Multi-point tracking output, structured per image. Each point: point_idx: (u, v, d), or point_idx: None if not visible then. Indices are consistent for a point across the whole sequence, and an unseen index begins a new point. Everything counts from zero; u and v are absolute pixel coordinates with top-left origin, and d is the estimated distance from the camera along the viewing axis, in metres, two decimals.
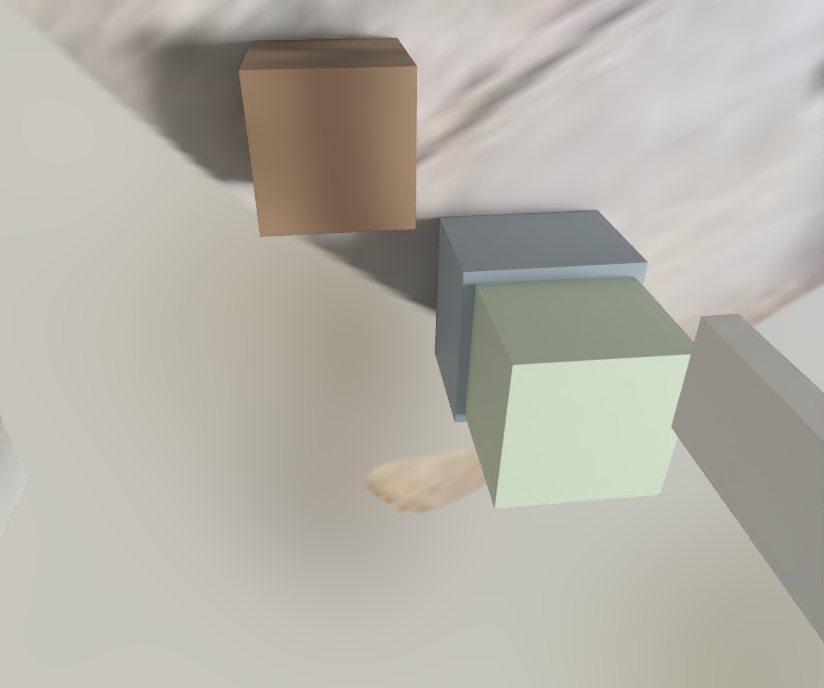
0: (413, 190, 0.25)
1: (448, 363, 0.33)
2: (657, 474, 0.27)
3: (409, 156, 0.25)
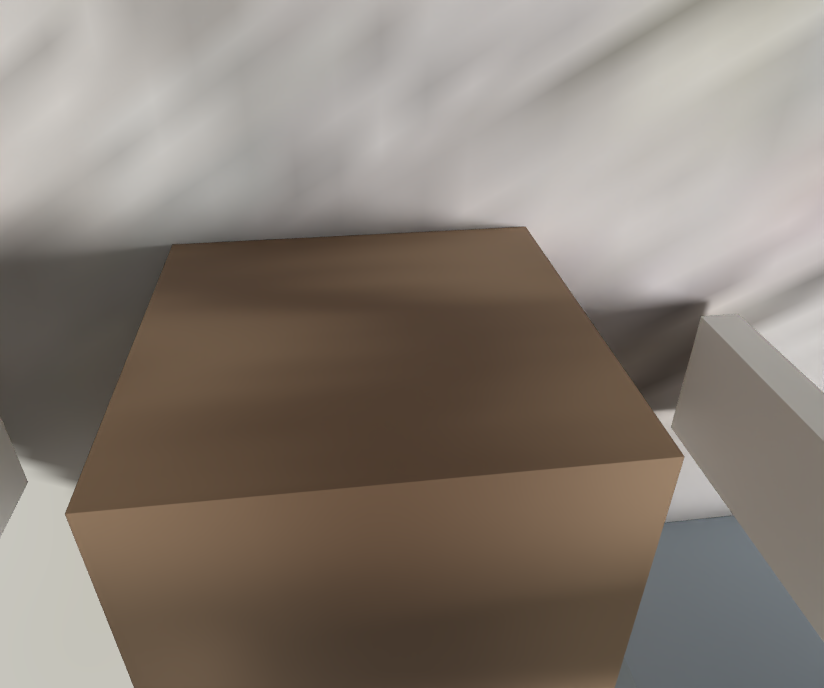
0: None
1: None
2: None
3: (610, 642, 0.08)
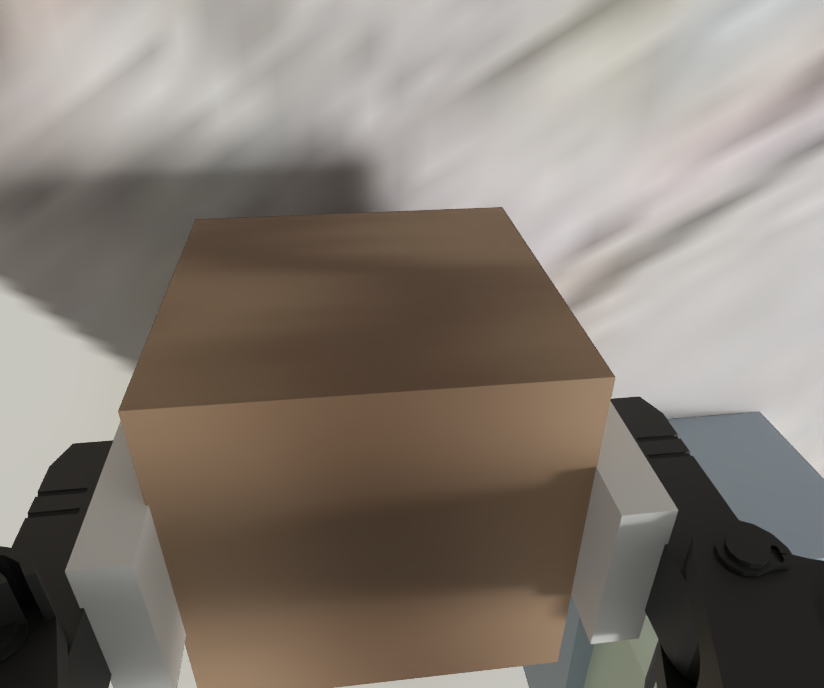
0: (563, 603, 0.11)
1: None
2: None
3: (564, 549, 0.10)
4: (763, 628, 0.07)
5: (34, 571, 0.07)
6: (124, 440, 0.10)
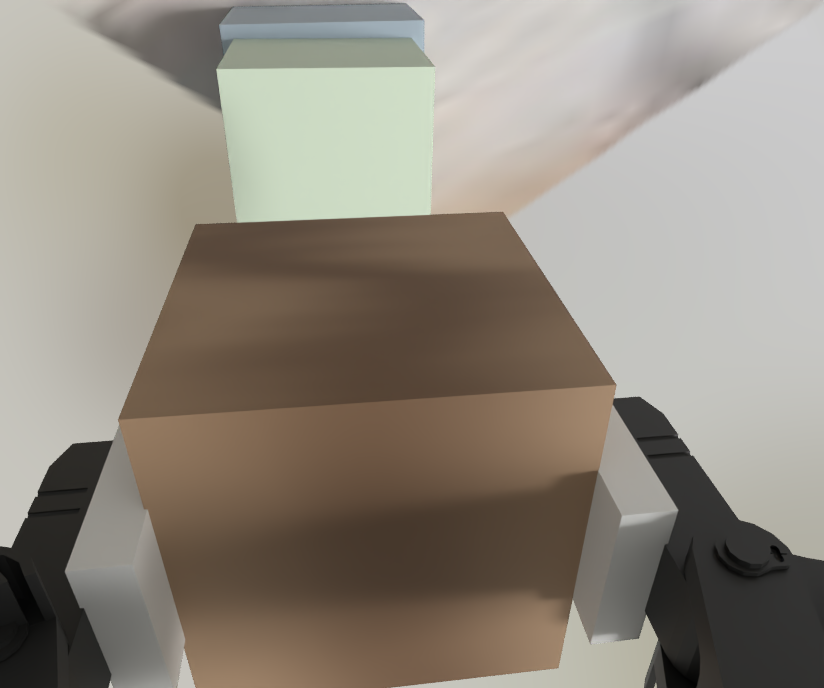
0: (564, 610, 0.11)
1: None
2: None
3: (565, 556, 0.10)
4: (763, 628, 0.07)
5: (34, 571, 0.07)
6: None
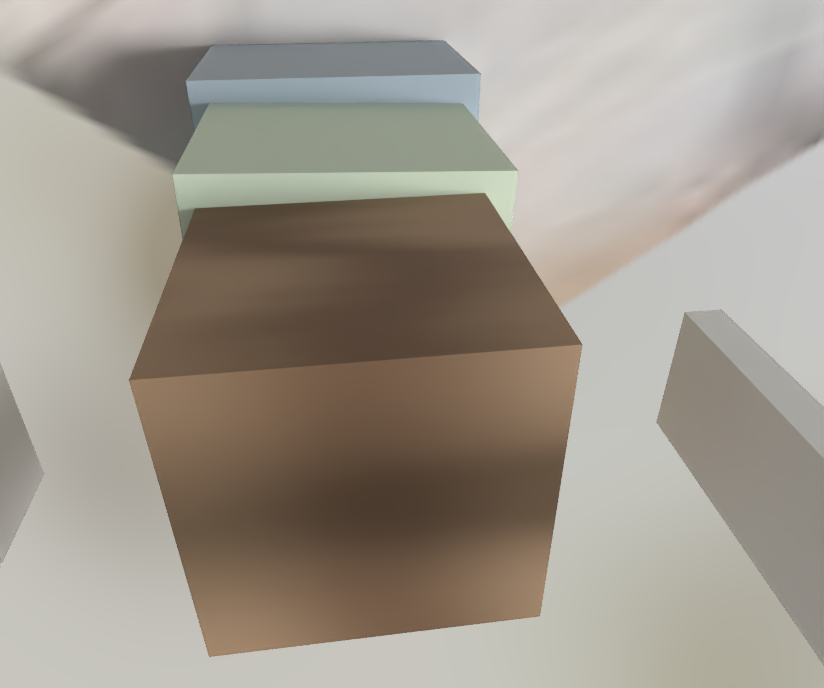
0: (543, 559, 0.12)
1: None
2: None
3: (542, 507, 0.11)
4: None
5: None
6: None
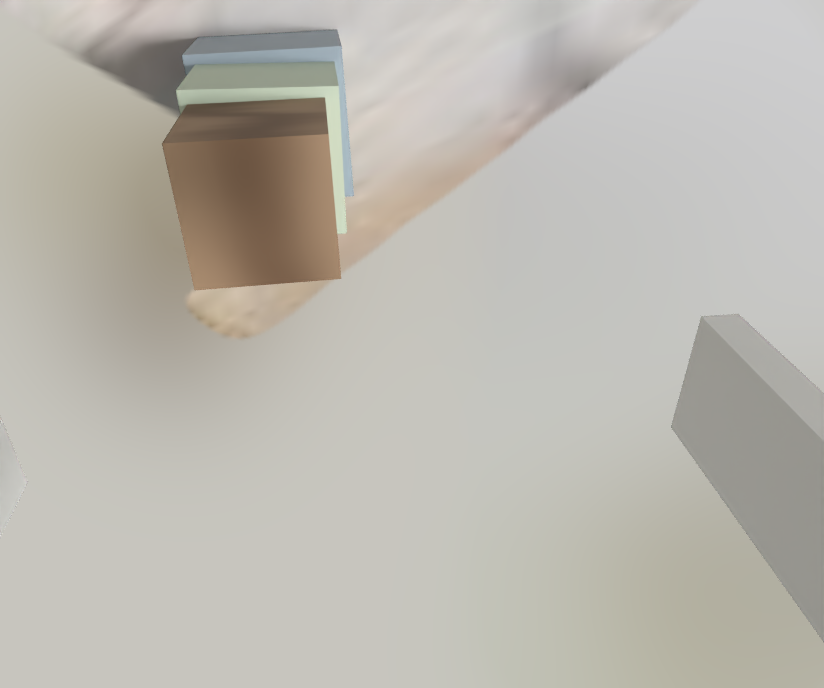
0: (335, 244, 0.27)
1: None
2: (337, 211, 0.33)
3: (329, 214, 0.26)
4: None
5: None
6: None
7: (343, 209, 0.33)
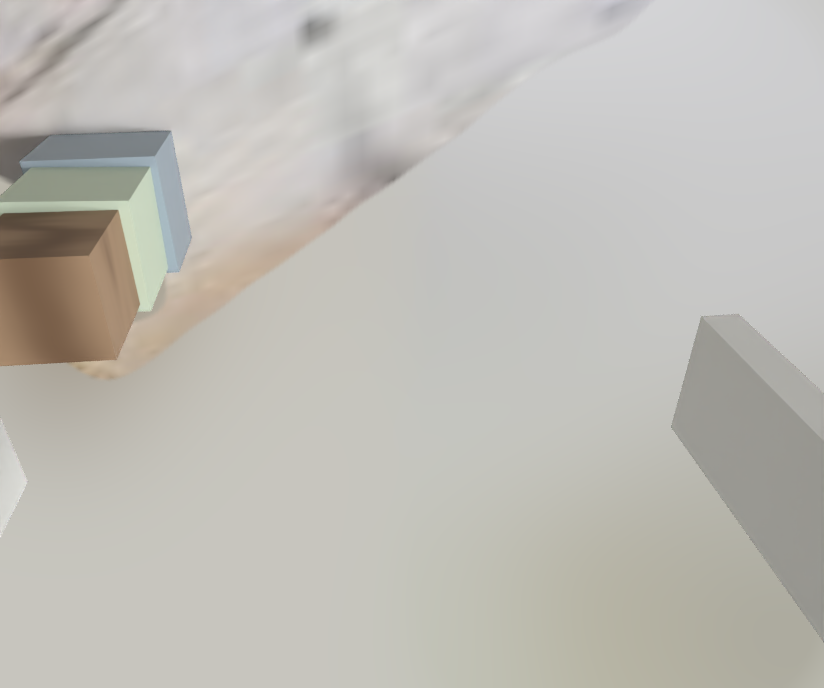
0: (108, 334, 0.34)
1: None
2: (141, 294, 0.40)
3: (98, 312, 0.34)
4: None
5: None
6: None
7: (145, 292, 0.40)
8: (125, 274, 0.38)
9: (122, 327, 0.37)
